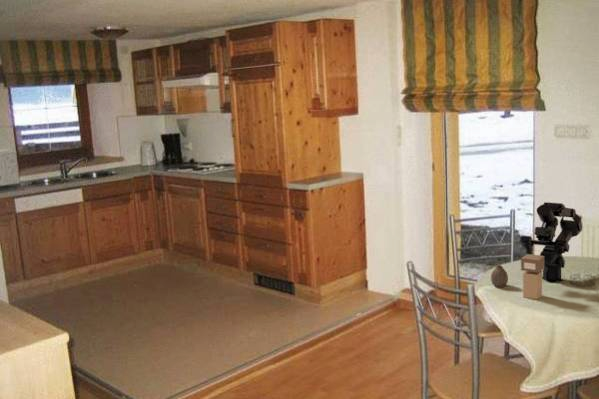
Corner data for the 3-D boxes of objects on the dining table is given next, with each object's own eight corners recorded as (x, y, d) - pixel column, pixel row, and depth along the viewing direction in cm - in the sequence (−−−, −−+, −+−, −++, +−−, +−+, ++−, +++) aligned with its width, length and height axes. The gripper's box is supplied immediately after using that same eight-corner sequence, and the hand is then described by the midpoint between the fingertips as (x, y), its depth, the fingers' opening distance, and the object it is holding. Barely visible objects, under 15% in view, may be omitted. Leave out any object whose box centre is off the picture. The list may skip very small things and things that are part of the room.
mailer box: (528, 293, 260) (528, 269, 258) (542, 295, 256) (542, 271, 254) (523, 297, 255) (523, 272, 253) (537, 299, 252) (537, 274, 250)
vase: (508, 288, 266) (508, 268, 265) (491, 288, 268) (491, 268, 266) (507, 283, 273) (506, 263, 271) (490, 283, 274) (490, 263, 273)
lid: (527, 265, 258) (527, 253, 257) (544, 268, 254) (544, 255, 253) (521, 270, 253) (521, 258, 252) (538, 272, 249) (538, 260, 248)
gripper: (520, 216, 266) (511, 248, 260) (567, 220, 254) (558, 254, 248) (528, 230, 273) (518, 262, 267) (573, 234, 261) (564, 267, 255)
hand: (539, 261), depth 259 cm, fingers open, 9 cm apart
